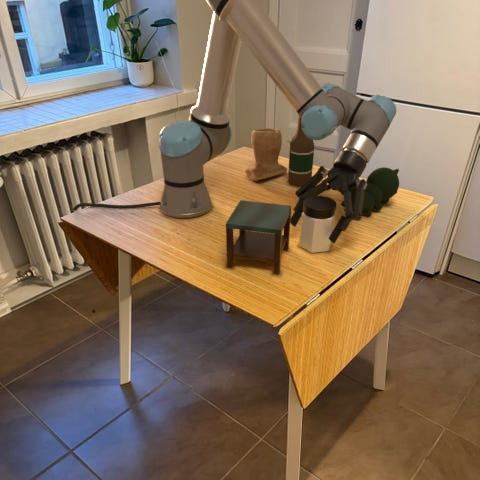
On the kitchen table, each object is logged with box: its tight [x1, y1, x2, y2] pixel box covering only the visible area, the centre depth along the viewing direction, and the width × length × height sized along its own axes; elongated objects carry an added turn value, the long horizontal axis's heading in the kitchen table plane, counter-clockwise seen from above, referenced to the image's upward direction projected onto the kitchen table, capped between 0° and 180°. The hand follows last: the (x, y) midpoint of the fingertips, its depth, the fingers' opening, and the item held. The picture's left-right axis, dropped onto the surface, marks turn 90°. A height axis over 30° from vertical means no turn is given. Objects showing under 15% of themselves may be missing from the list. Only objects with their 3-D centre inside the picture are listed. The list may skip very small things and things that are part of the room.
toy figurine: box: [340, 166, 400, 217], centre depth 134 cm, size 9×19×25 cm
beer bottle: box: [287, 115, 315, 188], centre depth 148 cm, size 8×8×24 cm
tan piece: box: [244, 127, 289, 182], centre depth 157 cm, size 15×12×15 cm
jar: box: [298, 195, 337, 254], centre depth 120 cm, size 9×8×12 cm
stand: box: [225, 199, 292, 276], centre depth 115 cm, size 13×13×12 cm
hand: (311, 232), depth 119 cm, fingers open, 12 cm apart
